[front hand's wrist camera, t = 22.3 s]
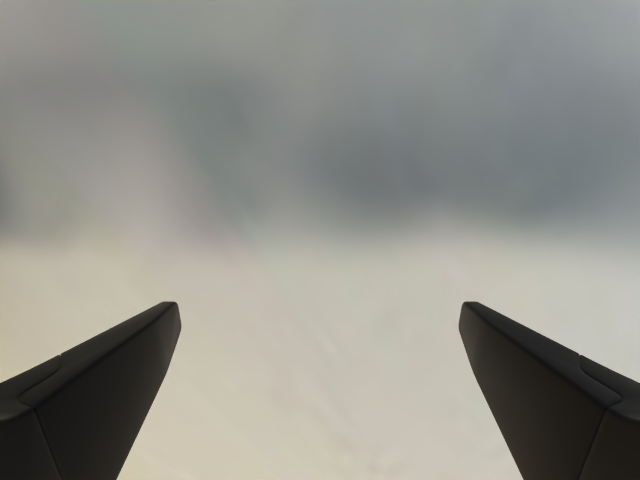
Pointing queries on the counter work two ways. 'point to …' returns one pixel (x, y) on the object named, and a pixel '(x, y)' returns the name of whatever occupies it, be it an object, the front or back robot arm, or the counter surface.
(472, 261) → the counter surface
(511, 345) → the front robot arm
